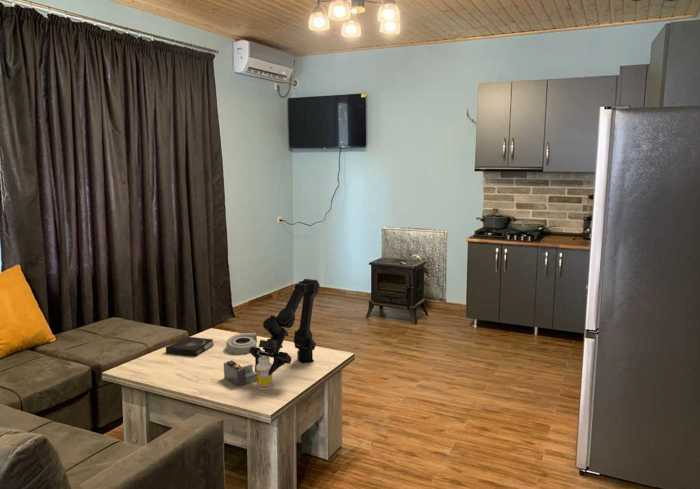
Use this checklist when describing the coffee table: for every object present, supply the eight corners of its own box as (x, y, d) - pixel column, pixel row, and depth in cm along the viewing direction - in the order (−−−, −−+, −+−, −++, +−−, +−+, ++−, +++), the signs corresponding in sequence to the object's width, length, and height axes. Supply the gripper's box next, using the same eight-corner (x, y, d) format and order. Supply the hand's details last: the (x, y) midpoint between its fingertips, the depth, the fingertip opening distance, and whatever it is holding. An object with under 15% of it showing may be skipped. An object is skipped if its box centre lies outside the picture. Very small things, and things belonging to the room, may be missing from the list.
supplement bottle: (257, 384, 232) (256, 355, 230) (273, 383, 233) (272, 355, 231) (256, 390, 226) (255, 361, 224) (272, 390, 226) (271, 360, 224)
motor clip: (251, 370, 247) (250, 353, 246) (264, 378, 238) (264, 360, 237) (224, 378, 238) (223, 360, 237) (237, 386, 229) (236, 368, 228)
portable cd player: (196, 358, 264) (196, 350, 263) (166, 354, 268) (165, 346, 268) (213, 346, 279) (213, 339, 279) (185, 343, 284) (184, 336, 283)
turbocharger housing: (223, 357, 267) (253, 357, 267) (222, 344, 266) (253, 344, 266) (231, 343, 284) (259, 343, 284) (230, 331, 282) (259, 331, 282)
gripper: (250, 328, 233) (235, 361, 225) (287, 334, 225) (273, 369, 217) (261, 340, 241) (247, 372, 233) (297, 346, 233) (284, 380, 225)
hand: (262, 373), depth 227 cm, fingers closed on supplement bottle, 7 cm apart
